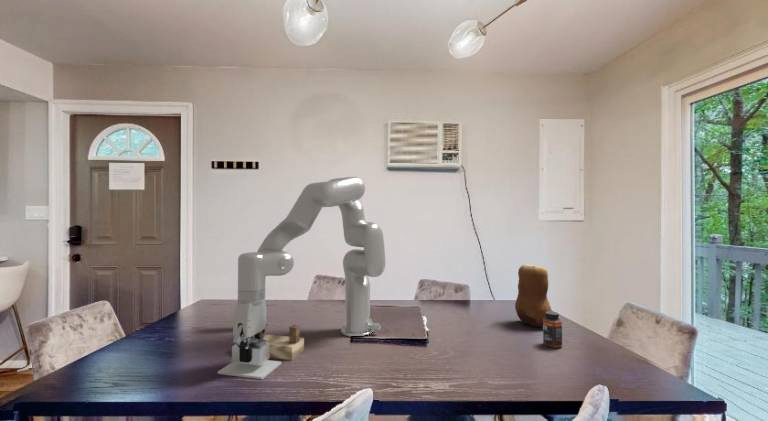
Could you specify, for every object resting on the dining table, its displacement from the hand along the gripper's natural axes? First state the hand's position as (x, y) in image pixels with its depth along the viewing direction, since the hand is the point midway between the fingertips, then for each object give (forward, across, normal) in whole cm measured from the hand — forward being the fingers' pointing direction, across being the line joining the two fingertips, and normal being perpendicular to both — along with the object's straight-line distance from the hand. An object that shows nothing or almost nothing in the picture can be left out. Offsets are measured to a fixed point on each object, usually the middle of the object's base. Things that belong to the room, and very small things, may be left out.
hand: (251, 356), depth 97 cm
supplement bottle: (+4, -40, +91) cm, 99 cm away
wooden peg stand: (+3, -12, 0) cm, 12 cm away
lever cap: (+1, 0, 0) cm, 1 cm away
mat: (+3, 0, 0) cm, 3 cm away
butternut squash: (+4, -62, +89) cm, 108 cm away
